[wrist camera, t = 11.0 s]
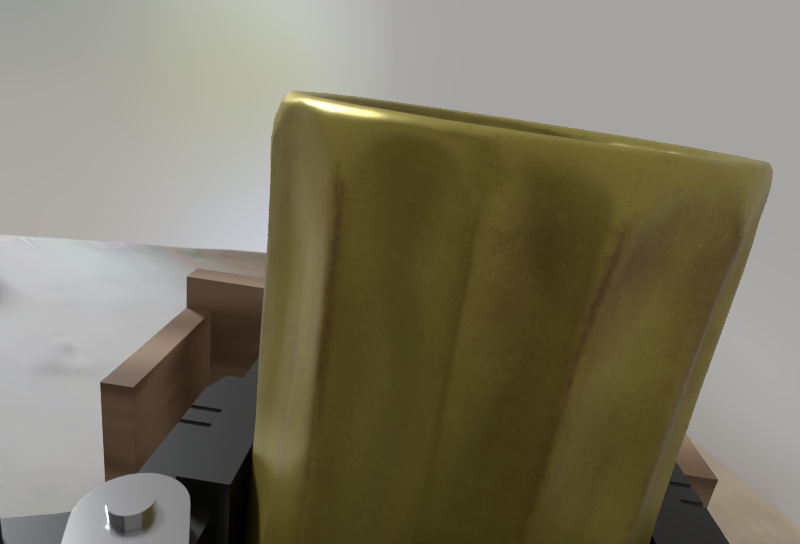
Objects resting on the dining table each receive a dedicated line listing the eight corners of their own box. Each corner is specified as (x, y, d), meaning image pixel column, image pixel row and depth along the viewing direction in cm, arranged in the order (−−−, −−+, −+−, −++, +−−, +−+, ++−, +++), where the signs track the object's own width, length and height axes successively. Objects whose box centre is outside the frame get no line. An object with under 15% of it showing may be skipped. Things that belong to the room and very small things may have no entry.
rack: (722, 827, 20) (853, 585, 16) (2, 703, 21) (-37, 441, 17) (595, 496, 37) (646, 336, 33) (195, 433, 37) (197, 268, 33)
